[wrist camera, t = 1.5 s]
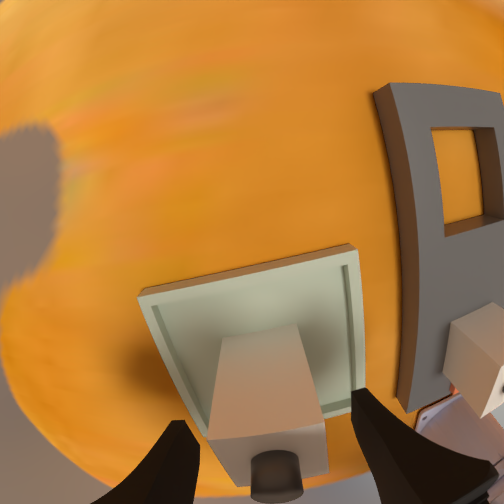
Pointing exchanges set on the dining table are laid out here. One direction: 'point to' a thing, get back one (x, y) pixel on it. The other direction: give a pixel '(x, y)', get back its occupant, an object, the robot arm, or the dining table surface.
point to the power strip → (447, 248)
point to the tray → (264, 323)
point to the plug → (267, 415)
